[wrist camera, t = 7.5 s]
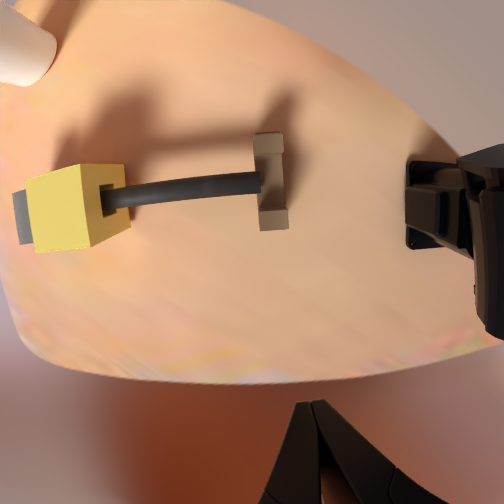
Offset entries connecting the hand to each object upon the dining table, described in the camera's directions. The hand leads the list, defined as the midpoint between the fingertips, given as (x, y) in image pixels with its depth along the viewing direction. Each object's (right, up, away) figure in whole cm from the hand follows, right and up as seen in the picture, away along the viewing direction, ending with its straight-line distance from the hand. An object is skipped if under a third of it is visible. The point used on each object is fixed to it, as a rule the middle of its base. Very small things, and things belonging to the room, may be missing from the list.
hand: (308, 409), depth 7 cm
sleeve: (-12, +8, +11) cm, 18 cm away
